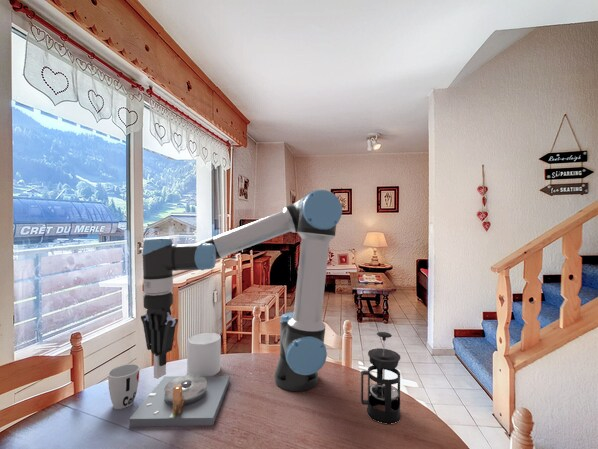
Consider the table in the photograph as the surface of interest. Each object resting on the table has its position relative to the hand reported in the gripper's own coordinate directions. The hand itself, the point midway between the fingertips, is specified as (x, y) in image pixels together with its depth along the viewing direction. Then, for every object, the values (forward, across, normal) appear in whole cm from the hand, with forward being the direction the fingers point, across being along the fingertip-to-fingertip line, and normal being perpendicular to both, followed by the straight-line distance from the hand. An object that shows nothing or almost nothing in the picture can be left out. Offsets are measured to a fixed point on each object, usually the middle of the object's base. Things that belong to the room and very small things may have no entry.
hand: (159, 375), depth 82 cm
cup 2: (+11, -8, +24) cm, 28 cm away
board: (+11, +1, +8) cm, 14 cm away
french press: (+13, +55, +30) cm, 64 cm away
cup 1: (+11, -14, -2) cm, 18 cm away
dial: (+9, +2, +6) cm, 11 cm away
